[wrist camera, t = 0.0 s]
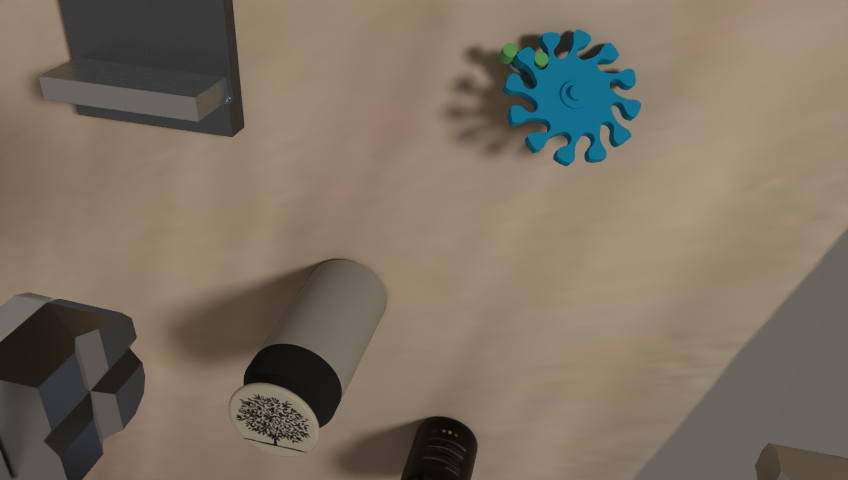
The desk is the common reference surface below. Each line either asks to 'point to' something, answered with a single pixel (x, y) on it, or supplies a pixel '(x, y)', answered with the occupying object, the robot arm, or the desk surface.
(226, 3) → the vise base
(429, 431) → the supplement bottle
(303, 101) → the desk surface
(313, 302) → the travel mug
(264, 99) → the desk surface
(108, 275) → the desk surface
